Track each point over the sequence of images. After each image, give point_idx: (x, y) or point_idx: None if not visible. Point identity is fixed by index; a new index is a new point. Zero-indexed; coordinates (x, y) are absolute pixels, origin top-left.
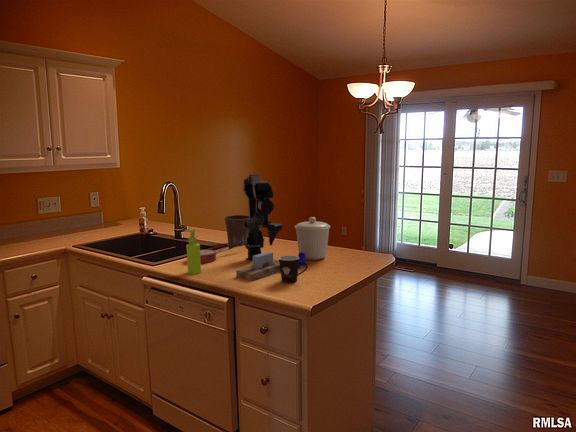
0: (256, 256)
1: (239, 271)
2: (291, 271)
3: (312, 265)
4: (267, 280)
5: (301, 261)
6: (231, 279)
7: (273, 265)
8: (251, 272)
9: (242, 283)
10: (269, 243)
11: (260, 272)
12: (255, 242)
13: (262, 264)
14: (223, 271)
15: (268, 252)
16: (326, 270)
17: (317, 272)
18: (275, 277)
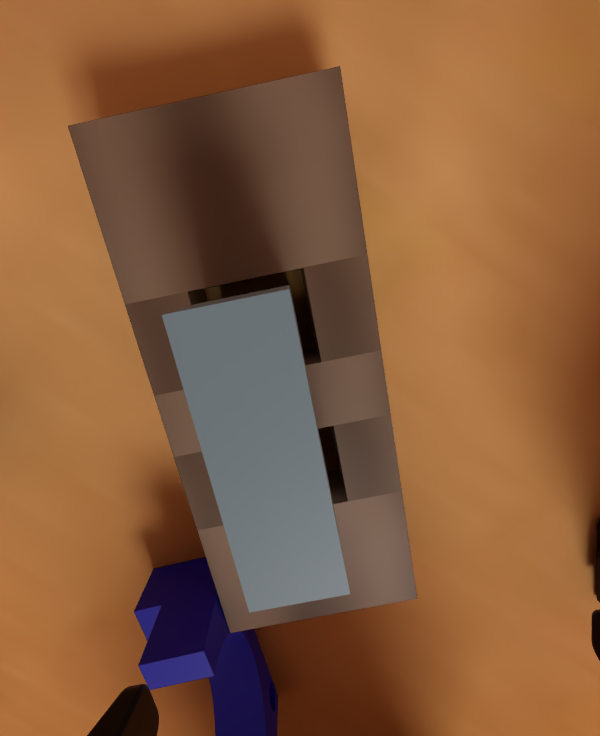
0: (215, 319)
1: (286, 81)
2: None
3: (195, 726)
4: (47, 271)
5: (218, 714)
6: (293, 3)
7: None
8: (139, 158)
9: (96, 10)
10: (113, 732)
11: (116, 261)
12: (598, 615)
13: (336, 436)
14: (590, 117)
15: (305, 579)
16: (33, 719)
17: (24, 659)
18: (88, 376)
